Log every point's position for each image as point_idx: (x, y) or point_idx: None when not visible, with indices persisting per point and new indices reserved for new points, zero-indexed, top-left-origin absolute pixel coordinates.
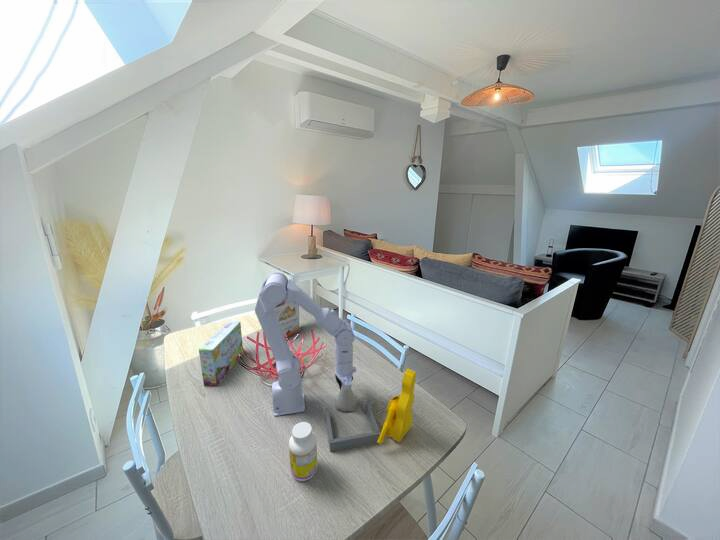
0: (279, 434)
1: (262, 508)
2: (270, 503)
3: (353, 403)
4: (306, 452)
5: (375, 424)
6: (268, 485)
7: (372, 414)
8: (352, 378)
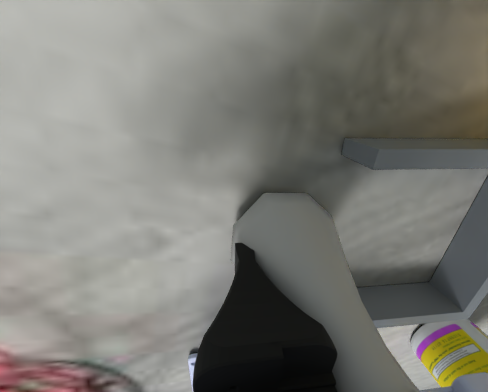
0: None
1: None
2: None
3: (326, 222)
4: None
5: None
6: (423, 370)
7: (476, 154)
8: (330, 347)
